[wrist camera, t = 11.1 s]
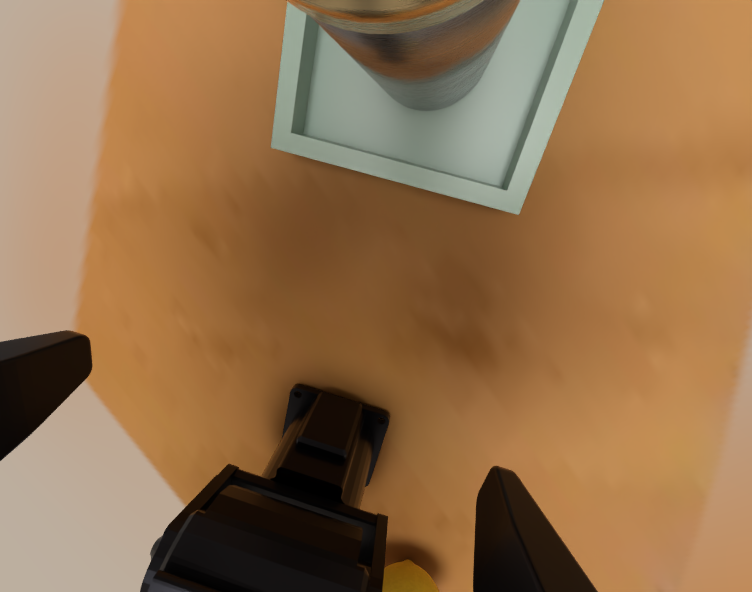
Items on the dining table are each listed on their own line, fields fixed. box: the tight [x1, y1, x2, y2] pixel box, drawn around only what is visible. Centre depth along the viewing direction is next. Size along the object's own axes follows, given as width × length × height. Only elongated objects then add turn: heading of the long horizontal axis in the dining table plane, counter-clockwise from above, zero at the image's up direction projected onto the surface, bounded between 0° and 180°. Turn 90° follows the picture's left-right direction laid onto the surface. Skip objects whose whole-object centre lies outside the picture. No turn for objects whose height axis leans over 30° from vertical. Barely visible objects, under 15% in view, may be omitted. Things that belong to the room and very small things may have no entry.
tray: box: [271, 0, 604, 215], centre depth 15 cm, size 11×11×2 cm
